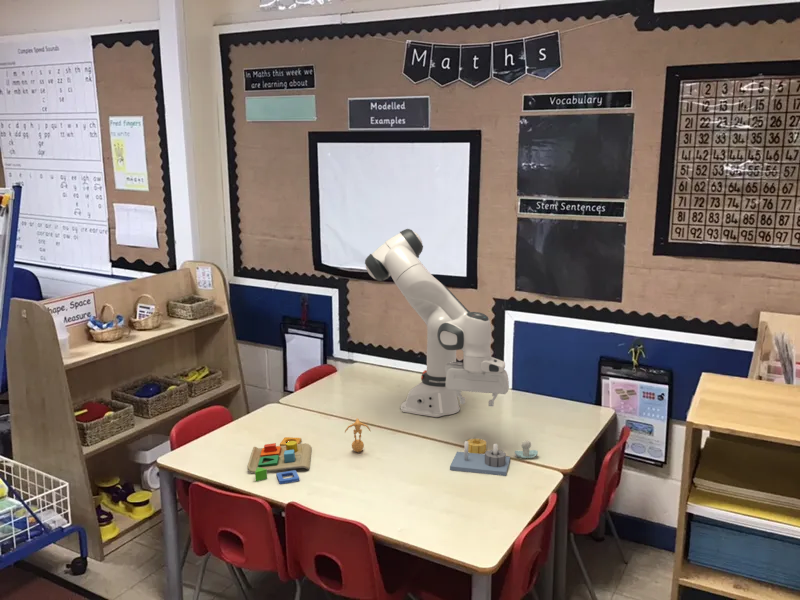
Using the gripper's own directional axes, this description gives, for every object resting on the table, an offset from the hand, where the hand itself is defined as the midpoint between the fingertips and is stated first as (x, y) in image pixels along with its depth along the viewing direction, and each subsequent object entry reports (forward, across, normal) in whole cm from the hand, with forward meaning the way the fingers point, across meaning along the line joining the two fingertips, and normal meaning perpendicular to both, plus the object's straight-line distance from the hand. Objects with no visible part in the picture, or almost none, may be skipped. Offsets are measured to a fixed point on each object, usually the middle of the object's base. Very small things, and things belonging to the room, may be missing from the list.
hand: (476, 404), depth 228 cm
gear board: (+16, +3, -11) cm, 20 cm away
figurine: (+16, -37, -12) cm, 42 cm away
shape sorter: (+16, -58, -24) cm, 65 cm away
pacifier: (+16, +16, -1) cm, 23 cm away
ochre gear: (+16, 0, 0) cm, 16 cm away
